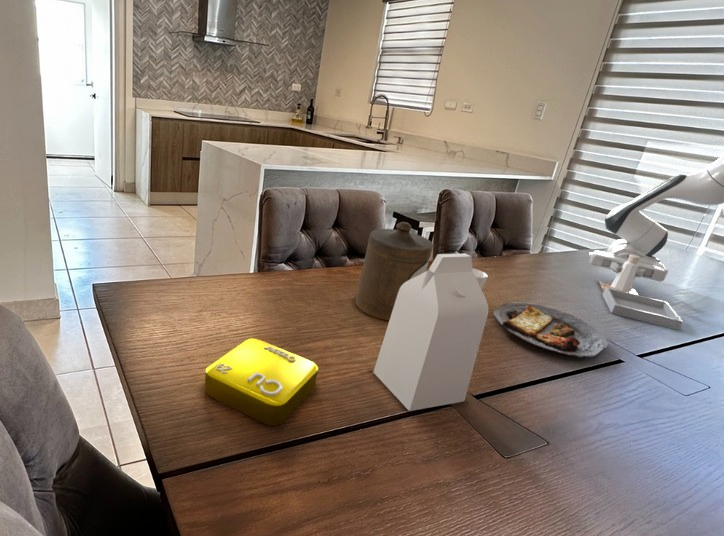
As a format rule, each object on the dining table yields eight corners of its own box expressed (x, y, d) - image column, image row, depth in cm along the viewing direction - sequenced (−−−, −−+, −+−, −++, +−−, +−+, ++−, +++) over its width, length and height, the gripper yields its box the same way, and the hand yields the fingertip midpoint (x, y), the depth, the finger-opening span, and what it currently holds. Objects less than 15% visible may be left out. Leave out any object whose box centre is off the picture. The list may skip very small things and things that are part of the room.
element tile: (318, 385, 84) (322, 362, 82) (276, 431, 72) (279, 405, 70) (248, 354, 90) (251, 333, 88) (199, 392, 78) (200, 368, 76)
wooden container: (418, 326, 109) (442, 236, 101) (355, 315, 111) (373, 226, 102) (411, 300, 123) (432, 219, 114) (355, 290, 124) (371, 209, 116)
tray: (663, 309, 137) (667, 301, 136) (678, 330, 125) (683, 321, 124) (602, 295, 143) (605, 287, 142) (611, 313, 130) (615, 304, 129)
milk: (424, 365, 94) (459, 242, 84) (464, 401, 84) (509, 267, 74) (373, 372, 90) (403, 243, 79) (409, 411, 80) (449, 270, 70)
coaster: (634, 290, 150) (634, 289, 150) (642, 301, 141) (642, 300, 141) (598, 282, 153) (599, 281, 153) (603, 292, 145) (604, 291, 145)
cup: (450, 300, 126) (458, 272, 123) (456, 288, 134) (464, 262, 131) (477, 308, 123) (486, 280, 120) (482, 295, 131) (490, 269, 128)
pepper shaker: (622, 292, 144) (637, 259, 139) (606, 285, 148) (620, 252, 144) (635, 292, 145) (650, 259, 141) (619, 284, 150) (633, 252, 146)
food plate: (578, 374, 98) (584, 360, 96) (474, 325, 114) (479, 312, 112) (616, 343, 113) (622, 330, 112) (521, 304, 129) (525, 292, 127)
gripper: (592, 243, 158) (593, 253, 147) (666, 260, 149) (673, 272, 138) (585, 260, 161) (586, 271, 150) (657, 278, 152) (664, 291, 141)
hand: (628, 272), depth 144 cm, fingers closed on pepper shaker, 4 cm apart
